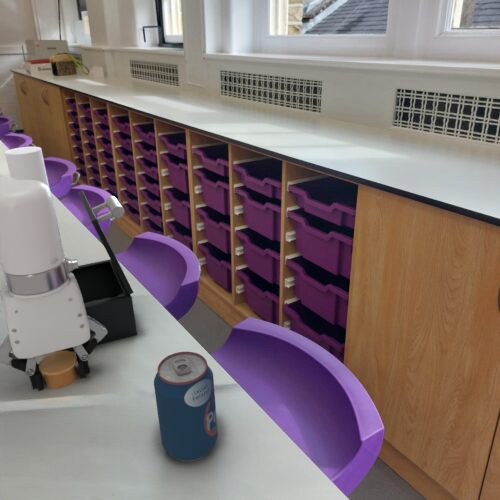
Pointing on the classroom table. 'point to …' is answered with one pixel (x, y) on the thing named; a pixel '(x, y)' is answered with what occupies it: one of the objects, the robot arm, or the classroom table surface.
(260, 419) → the classroom table surface
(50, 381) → the cylinder
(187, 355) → the soda can
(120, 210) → the lid
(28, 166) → the cylindrical container
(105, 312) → the black hinged storage box
